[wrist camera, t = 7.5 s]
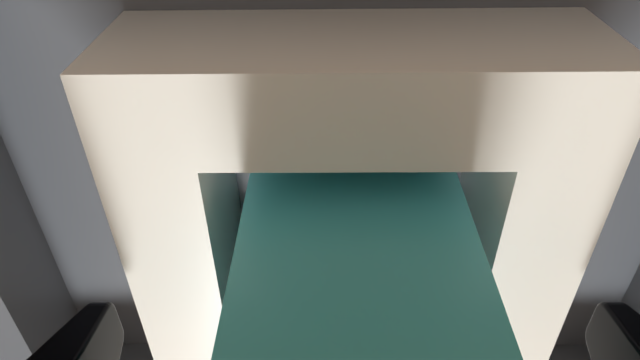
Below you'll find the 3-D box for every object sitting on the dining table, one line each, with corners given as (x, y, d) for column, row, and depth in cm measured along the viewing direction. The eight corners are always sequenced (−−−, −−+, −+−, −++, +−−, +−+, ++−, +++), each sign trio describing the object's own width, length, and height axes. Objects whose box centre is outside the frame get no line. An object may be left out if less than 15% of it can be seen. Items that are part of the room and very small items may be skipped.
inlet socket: (193, 312, 15) (169, 407, 13) (123, 10, 10) (59, 74, 8) (496, 312, 15) (528, 408, 13) (584, 7, 10) (667, 71, 8)
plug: (272, 252, 14) (226, 640, 7) (260, 123, 12) (177, 524, 5) (421, 252, 14) (504, 642, 7) (438, 122, 12) (583, 525, 5)
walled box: (73, 352, 17) (39, 427, 15) (-230, -291, 8) (-431, -326, 6) (616, 353, 17) (657, 430, 15) (967, -311, 8) (1212, -355, 6)
